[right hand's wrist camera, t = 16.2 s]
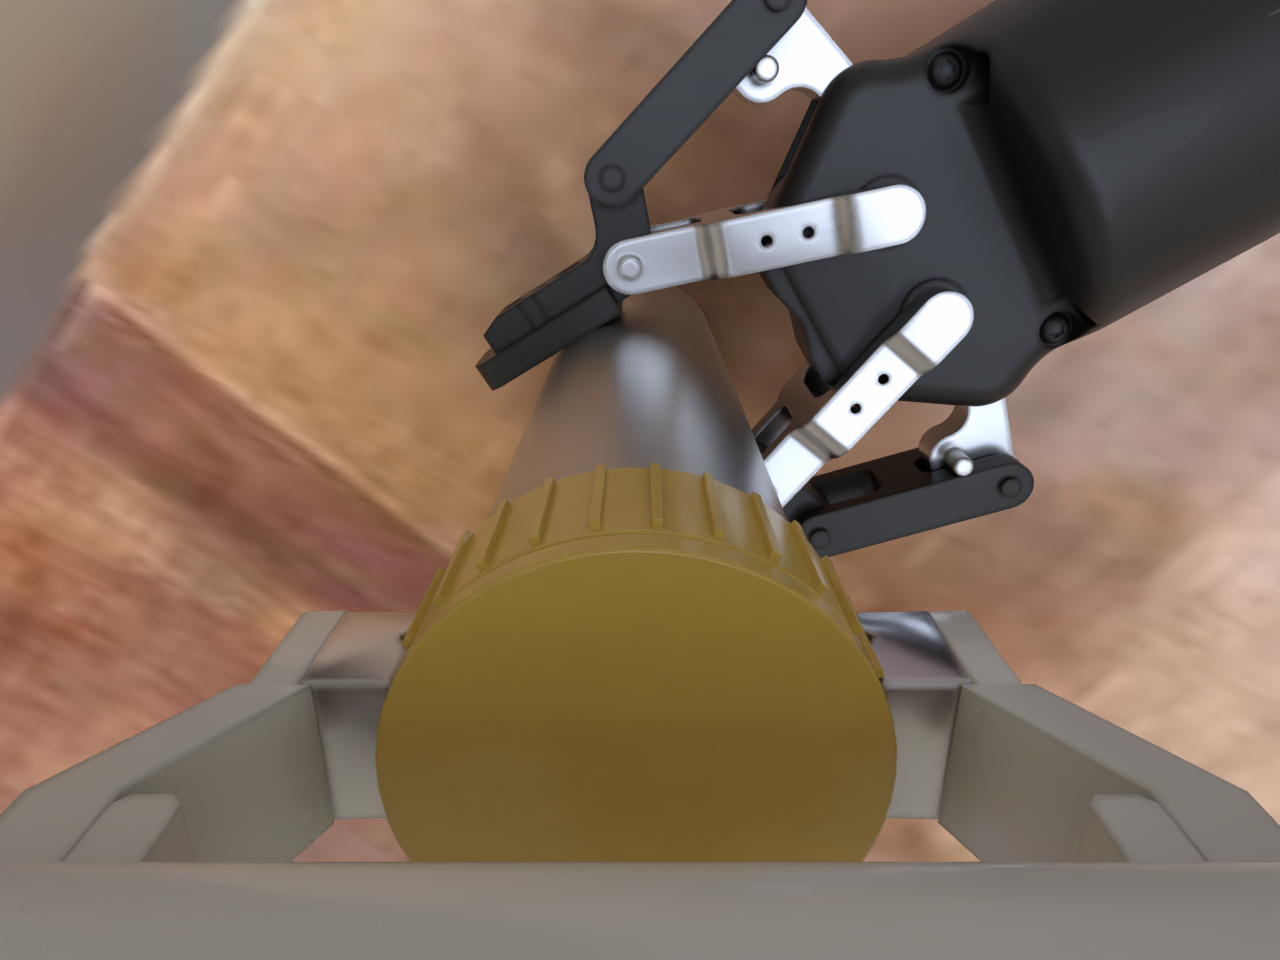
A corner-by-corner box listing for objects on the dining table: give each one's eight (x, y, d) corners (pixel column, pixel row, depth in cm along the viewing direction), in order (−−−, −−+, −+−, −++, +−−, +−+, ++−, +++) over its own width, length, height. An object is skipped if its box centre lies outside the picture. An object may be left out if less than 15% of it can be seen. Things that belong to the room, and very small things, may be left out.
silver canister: (535, 354, 27) (327, 749, 9) (634, 242, 26) (620, 445, 8) (642, 447, 28) (648, 962, 10) (743, 345, 27) (948, 728, 9)
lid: (841, 823, 11) (884, 967, 9) (447, 834, 11) (406, 979, 9) (867, 451, 9) (930, 531, 7) (390, 467, 9) (323, 551, 7)
